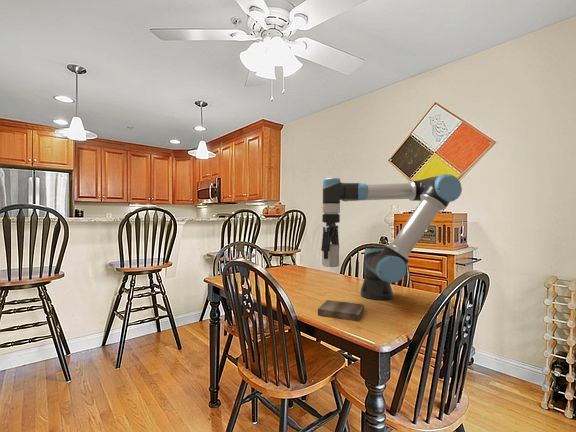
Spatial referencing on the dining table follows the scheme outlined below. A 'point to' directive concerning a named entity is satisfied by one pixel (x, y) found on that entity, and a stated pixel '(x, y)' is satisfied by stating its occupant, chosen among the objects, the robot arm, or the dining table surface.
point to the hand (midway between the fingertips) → (330, 264)
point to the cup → (333, 255)
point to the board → (341, 310)
